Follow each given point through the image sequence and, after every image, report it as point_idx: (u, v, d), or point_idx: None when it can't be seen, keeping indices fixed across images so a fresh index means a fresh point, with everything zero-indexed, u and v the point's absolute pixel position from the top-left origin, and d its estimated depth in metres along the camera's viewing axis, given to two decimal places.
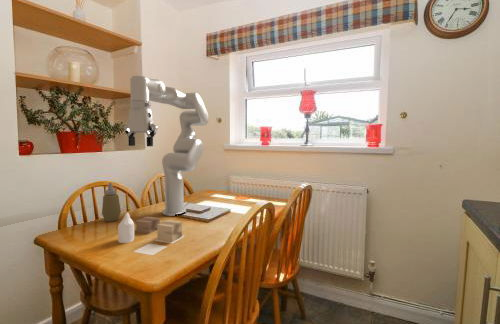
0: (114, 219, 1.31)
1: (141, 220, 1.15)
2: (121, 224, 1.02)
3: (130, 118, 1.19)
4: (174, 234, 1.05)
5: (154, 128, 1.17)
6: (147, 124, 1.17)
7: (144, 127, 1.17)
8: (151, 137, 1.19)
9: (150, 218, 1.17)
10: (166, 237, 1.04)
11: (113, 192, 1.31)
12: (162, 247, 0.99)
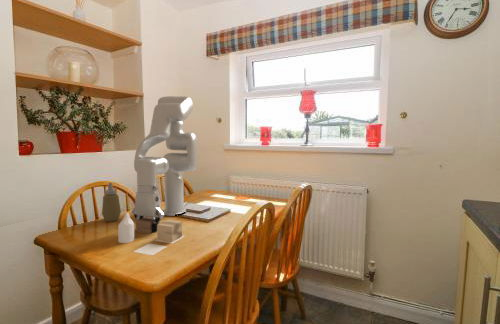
0: (114, 219, 1.31)
1: (141, 220, 1.15)
2: (121, 224, 1.02)
3: (137, 202, 1.14)
4: (174, 234, 1.05)
5: (160, 216, 1.13)
6: (155, 211, 1.13)
7: (152, 212, 1.12)
8: (156, 223, 1.14)
9: (149, 218, 1.17)
10: (166, 237, 1.04)
11: (113, 192, 1.31)
12: (162, 247, 0.99)
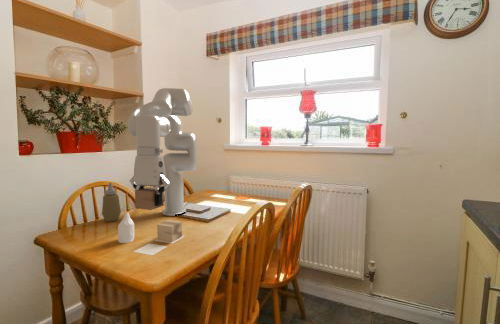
0: (114, 219, 1.31)
1: (141, 190, 0.94)
2: (121, 224, 1.02)
3: (136, 168, 0.94)
4: (174, 234, 1.05)
5: (165, 184, 0.92)
6: (158, 179, 0.92)
7: (154, 180, 0.92)
8: (160, 194, 0.94)
9: (152, 188, 0.96)
10: (166, 237, 1.04)
11: (113, 192, 1.31)
12: (162, 247, 0.99)
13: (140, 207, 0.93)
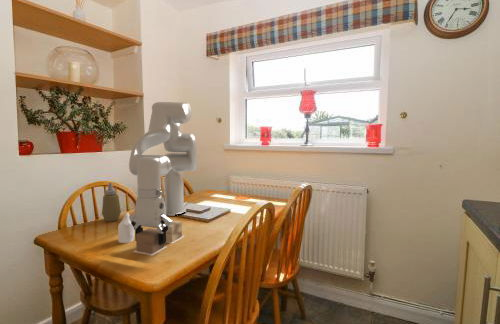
0: (114, 219, 1.31)
1: (142, 233, 0.95)
2: (121, 224, 1.02)
3: (137, 209, 0.95)
4: (174, 234, 1.05)
5: (168, 223, 0.93)
6: (159, 218, 0.93)
7: (155, 222, 0.93)
8: (164, 233, 0.95)
9: (152, 231, 0.98)
10: (166, 237, 1.04)
11: (113, 192, 1.31)
12: None
13: (141, 250, 0.95)
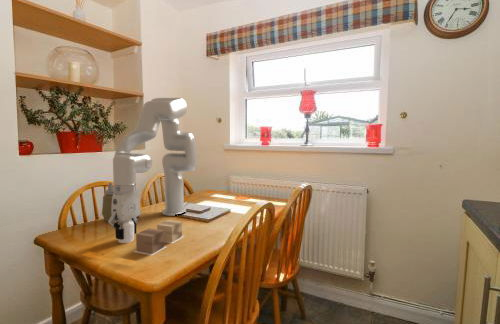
0: None
1: (142, 233, 0.95)
2: None
3: None
4: (174, 234, 1.05)
5: None
6: (112, 215, 1.00)
7: None
8: (116, 229, 1.01)
9: (152, 231, 0.98)
10: (166, 237, 1.04)
11: (113, 192, 1.31)
12: None
13: (141, 250, 0.95)
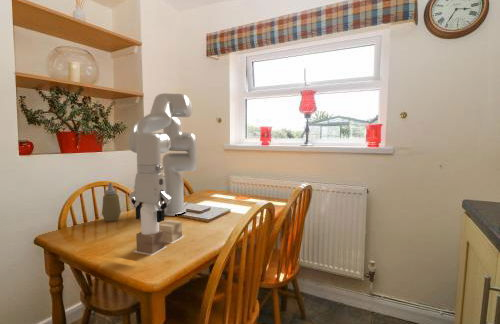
0: (114, 219, 1.31)
1: None
2: (156, 209, 0.96)
3: (137, 185, 0.94)
4: (174, 234, 1.05)
5: (167, 200, 0.93)
6: (159, 195, 0.92)
7: (155, 198, 0.92)
8: (162, 210, 0.94)
9: None
10: (166, 237, 1.04)
11: (113, 192, 1.31)
12: None
13: (141, 250, 0.95)
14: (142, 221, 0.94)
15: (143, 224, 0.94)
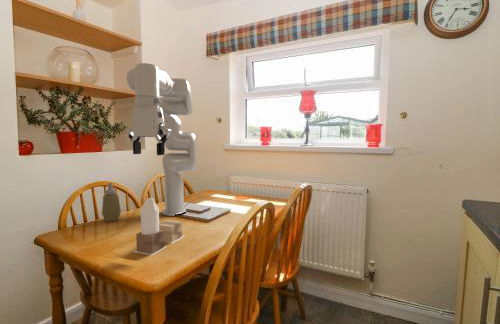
0: (114, 219, 1.31)
1: None
2: (156, 209, 0.96)
3: (135, 119, 0.92)
4: (174, 234, 1.05)
5: (166, 132, 0.90)
6: (157, 126, 0.90)
7: (153, 130, 0.90)
8: (162, 143, 0.92)
9: None
10: (166, 237, 1.04)
11: (113, 192, 1.31)
12: None
13: (141, 250, 0.95)
14: (142, 221, 0.94)
15: (143, 224, 0.94)
